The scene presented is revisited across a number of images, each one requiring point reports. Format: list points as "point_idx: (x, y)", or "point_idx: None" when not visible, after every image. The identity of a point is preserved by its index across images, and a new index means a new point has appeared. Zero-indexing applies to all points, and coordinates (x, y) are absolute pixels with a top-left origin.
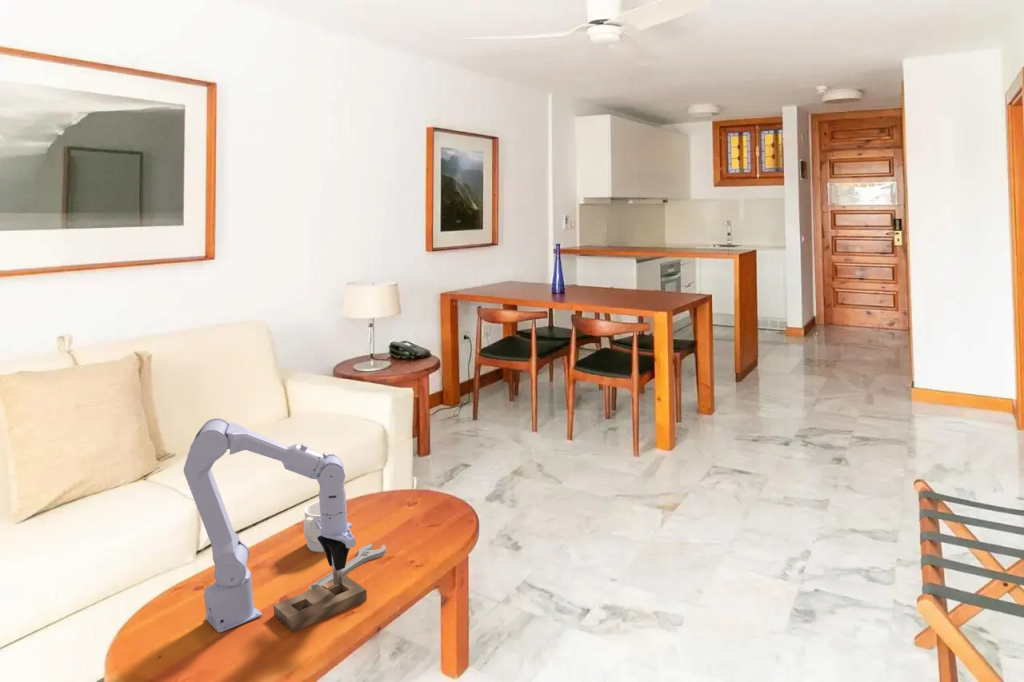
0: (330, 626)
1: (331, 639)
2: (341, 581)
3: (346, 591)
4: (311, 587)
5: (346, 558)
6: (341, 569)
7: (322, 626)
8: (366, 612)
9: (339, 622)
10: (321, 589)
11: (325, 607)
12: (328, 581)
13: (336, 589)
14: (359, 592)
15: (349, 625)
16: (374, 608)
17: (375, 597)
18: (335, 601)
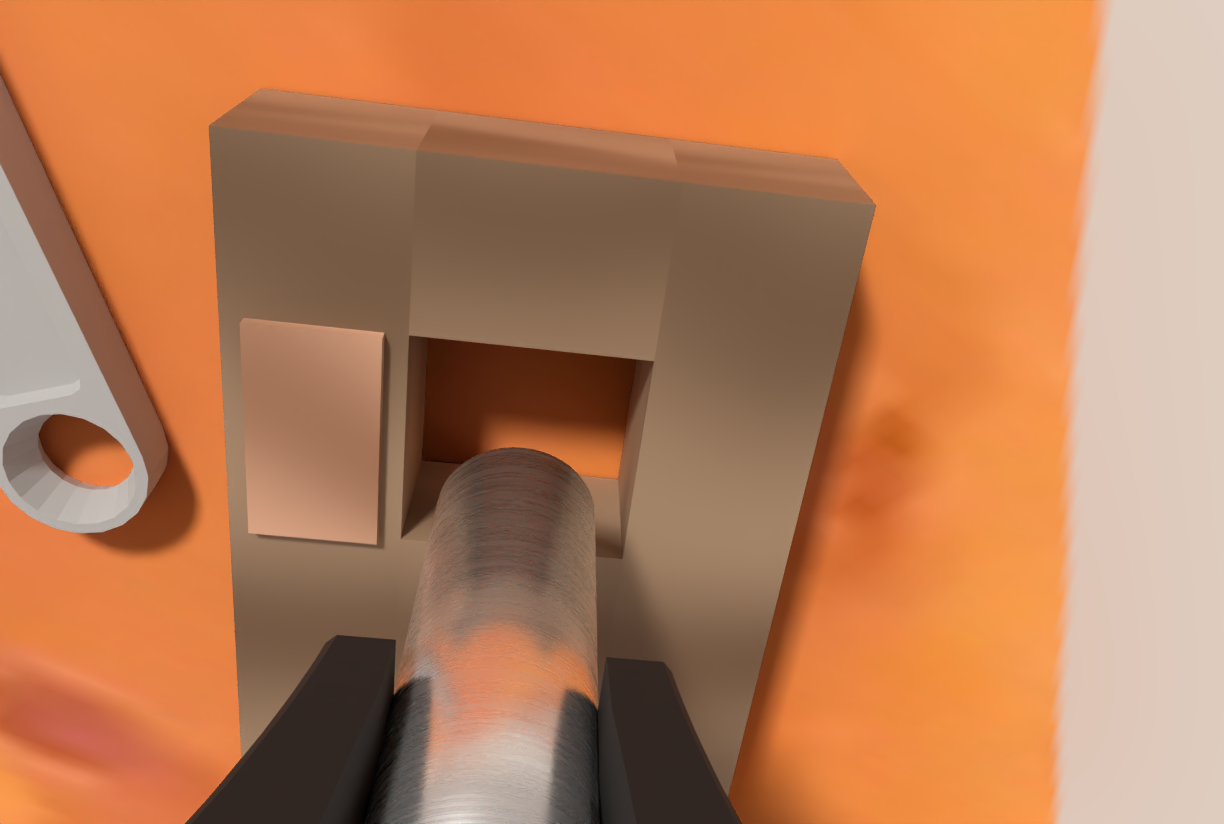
0: (883, 703)
1: (1049, 791)
2: (592, 530)
3: (657, 419)
4: (31, 477)
5: (734, 818)
6: (591, 659)
7: (814, 741)
8: (1045, 348)
9: (910, 624)
10: (331, 581)
11: (738, 744)
12: (51, 279)
13: (412, 394)
14: (843, 322)
15: (1045, 597)
16: (1078, 231)
17: (897, 34)
18: (737, 628)
